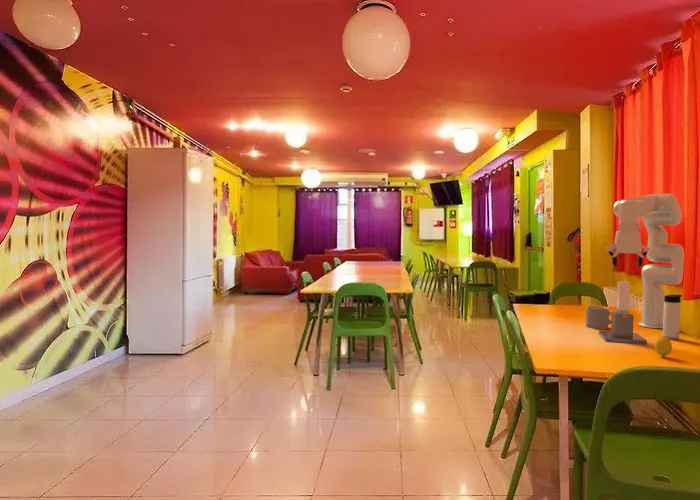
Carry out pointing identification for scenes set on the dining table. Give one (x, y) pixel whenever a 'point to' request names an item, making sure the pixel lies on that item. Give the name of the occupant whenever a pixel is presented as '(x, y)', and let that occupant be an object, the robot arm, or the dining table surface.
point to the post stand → (622, 330)
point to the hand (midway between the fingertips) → (627, 266)
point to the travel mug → (671, 316)
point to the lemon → (663, 346)
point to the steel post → (623, 297)
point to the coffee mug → (598, 317)
